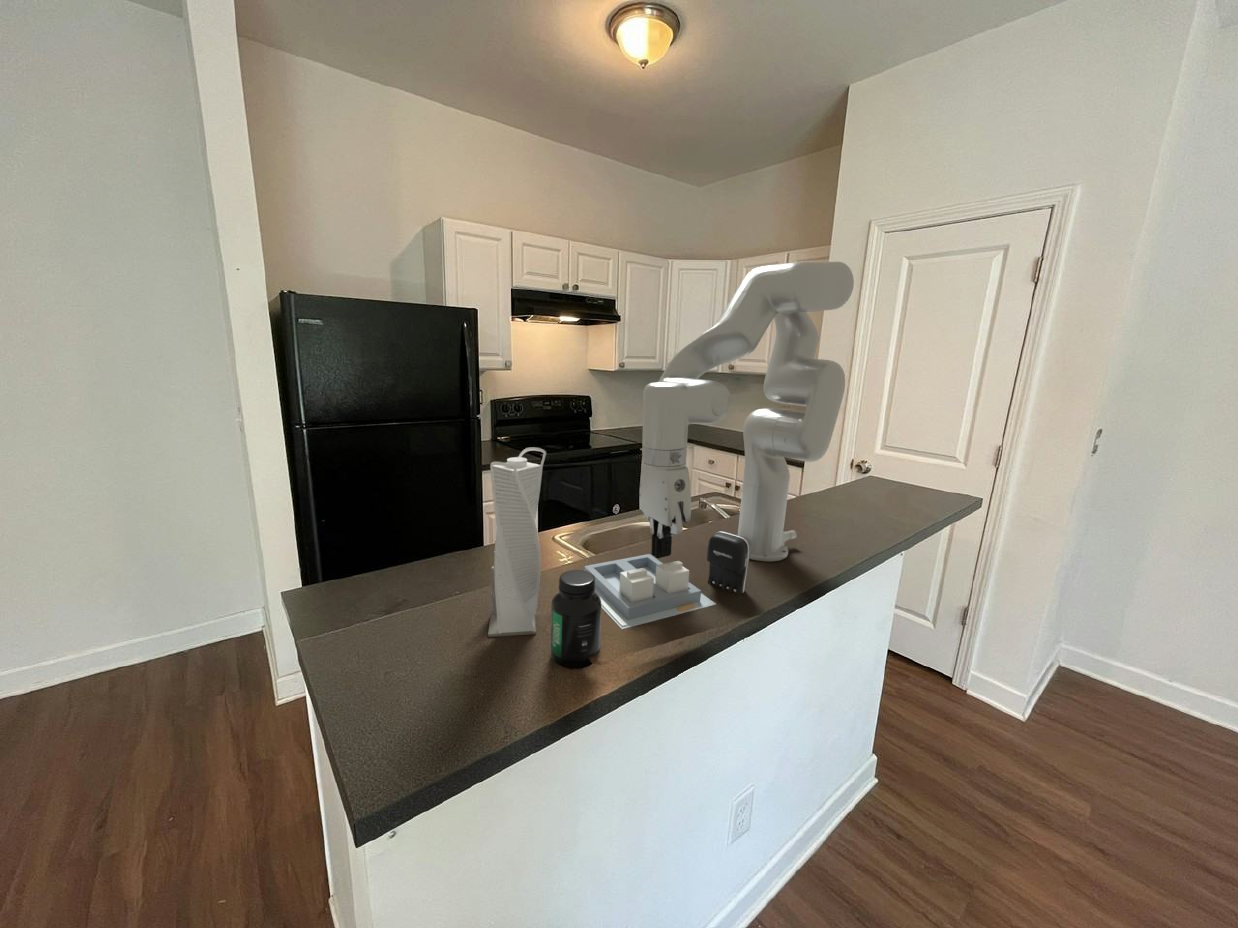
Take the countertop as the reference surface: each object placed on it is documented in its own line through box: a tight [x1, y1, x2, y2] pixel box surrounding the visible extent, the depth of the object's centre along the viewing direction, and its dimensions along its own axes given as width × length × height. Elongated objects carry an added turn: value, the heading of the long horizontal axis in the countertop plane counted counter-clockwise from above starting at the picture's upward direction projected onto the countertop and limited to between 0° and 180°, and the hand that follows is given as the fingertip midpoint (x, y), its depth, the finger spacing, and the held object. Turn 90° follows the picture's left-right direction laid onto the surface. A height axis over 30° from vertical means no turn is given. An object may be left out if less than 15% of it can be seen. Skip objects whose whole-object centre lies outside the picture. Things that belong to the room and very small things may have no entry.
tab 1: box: [619, 568, 654, 603], centre depth 79 cm, size 4×4×6 cm
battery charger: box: [706, 531, 750, 595], centre depth 86 cm, size 7×4×11 cm, turn 50°
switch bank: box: [583, 553, 717, 630], centre depth 85 cm, size 18×20×4 cm
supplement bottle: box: [550, 569, 602, 670], centre depth 67 cm, size 7×7×12 cm
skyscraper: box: [487, 446, 547, 638], centre depth 72 cm, size 8×8×28 cm
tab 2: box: [655, 560, 690, 594], centre depth 82 cm, size 4×4×6 cm
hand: (661, 555), depth 87 cm, fingers closed
